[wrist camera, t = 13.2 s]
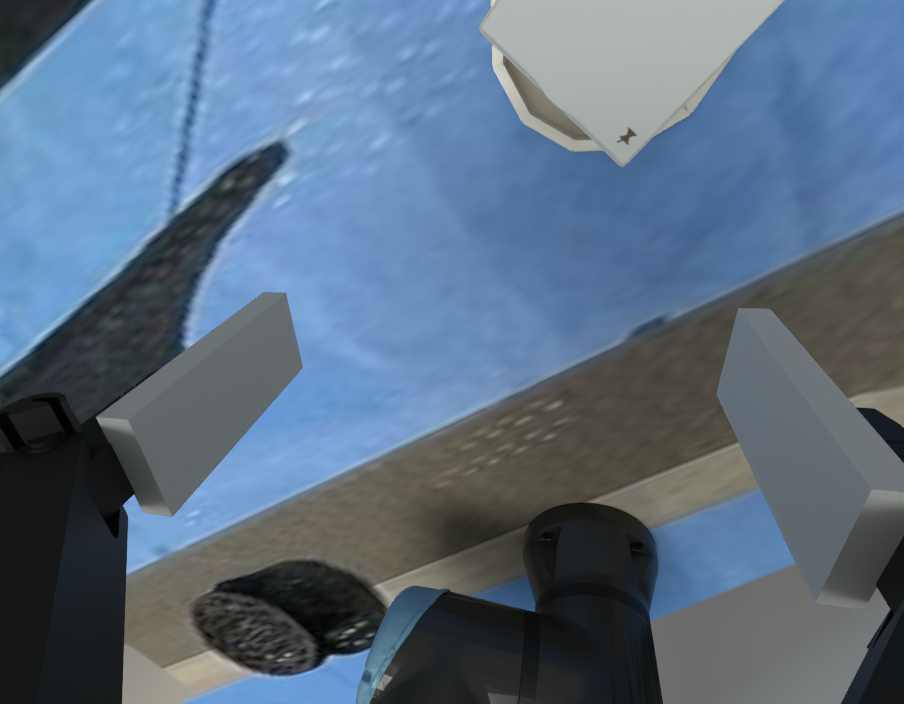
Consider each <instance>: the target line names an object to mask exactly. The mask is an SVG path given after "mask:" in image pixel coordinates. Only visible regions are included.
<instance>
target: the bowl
mask: <svg viewBox="0 0 904 704" xmlns="http://www.w3.org/2000/svg"><path fill="white" fill-rule="evenodd" d="M495 2H496V0H491V7H492V6H493V4H494V3H495ZM732 56H733V55H732ZM732 56H731V57H732ZM731 57H730V58H729V59H728V60H727V61H726V62H725V63H724V64H723V65H722V66H721V67H720V68H719V69H718V70H717V71H716V72H715V73H714V75H713V76H712V77H711V78H710V79H709V80H708V81H707V82H706V83H705V84H704V85H703V86H702V87H701V88H700V89H699V90H698V91H697V92H696V93H695V94H694V95H693V96H692V97H691V98H690V99H689V101H688V102H687V103H686V104H685V105H684V106H683V107H682V108H681V109H680V110H679V111H678V112H677V113H676V114H675V115H674V116H673V117H672V118H671V119H670V120H669V121H668V122H667V124H666V125H665V126H664V127H663V128H662V129H661V130H660V131H659V132H658V133H657V134H659V133H660V132H662V131H664V130H665V129H667V128H669V127H671V126H672V125H674V124H676V123H677V122H679V121H681V120H682V119H684V118H686V117H688V116H689V115H690V113H691V114H692V112H693V111H694V110H695V108H696V107H697V105H698V104H699V103H700V101H701V100H702V98H703V97H704V95H705V94H706V93H707V91H708V90H709V88H710V87H711V86H712V84H713V83H714V81H715V80H716V78H717V77H718V76H719V74H720V73H721V71H722V70H723V69H724V67H725V66H726V64H727V63H728V61H729V60H730V59H731ZM492 67H494V68H493V70H494V72H495V73H496V75H497V77H498V79H499V81H500V83H501V85H502V86H503V88H504V90H505V92H506V94H507V96H508V98H509V99H510V101H511V103H512V105H513V107H514V109H515V111H516V112H517V114H518V116H519V118H520V120H521V122H523V121H524V122H523V124H525V125H527V126H528V127H530V128H532V129H534V130H535V131H537V132H539V133H540V134H542V135H544V136H546V137H547V138H549V139H551V140H553V141H554V142H556V143H558V144H559V145H561V146H563V147H565V148H566V149H568V150H570V151H571V150H572V152H574V151H601V150H602V149H601V148H600V147H599V146H598V145H597V144H596V143H595V142H594V141H593V140H592V139H591V138H590V137H589V136H588V135H587V134H586V133H584V132H583V131H582V130H581V129H580V128H579V127H578V126H577V125H576V124H575V123H574V122H573V121H572V120H571V119H570V118H569V117H568V116H567V115H566V114H565V113H563V112H562V111H561V110H560V109H559V108H558V107H557V106H555V105H554V104H553V103H552V102H551V101H550V100H549V99H548V98H547V97H546V95H545V94H544V93H543V92H542V91H541V90H540V89H538V88H537V87H536V86H535V85H534V84H533V83H532V82H531V81H530V80H529V79H528V78H527V77H526V76H525V75H524V74H523V73H522V72H521V71H520V70H519V69H518V68H516V67H515V66H514V65H513V64H512V63H511V62H510V61H509V60H508V59H507V58H506V57H505V56H504V55H503V54H502V53H501V52H500V51H499V50H498V49H497V48H495V47H494V46H493V45H492ZM657 134H656V135H657Z"/></svg>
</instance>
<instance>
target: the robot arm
mask: <svg viewBox="0 0 904 704" xmlns="http://www.w3.org/2000/svg"><path fill="white" fill-rule="evenodd" d="M302 368H303V366H302V361H301V357H300V353H299V348H298V344H297V340H296V335H295V331H294V326H293V322H292V318H291V313H290V309H289V305H288V300H287V296H286V293H272V292H264V293H262V294H261V295H259V296H258V297H257V298H255V299H254V300H253V301H251V302H250V303H249V304H247V305H246V306H245V307H243V308H242V309H241V310H239V311H238V312H237V313H235V314H234V315H233V316H231V317H230V318H229V319H227V320H226V321H224V322H223V323H222V324H220V325H219V326H218V327H216V328H215V329H214V330H212V331H211V332H210V333H208V334H207V335H206V336H204V337H203V338H202V339H200V340H199V341H198V342H196V343H195V344H194V345H192V346H191V347H189V348H188V349H187V350H185V351H184V352H183V353H181V354H180V355H179V356H177V357H176V358H175V359H173V360H172V361H171V362H169V363H168V364H167V365H165V366H164V367H163V368H161V369H159V370H157V371H155V372H152V373H151V374H149V375H148V376H146V377H145V378H144V379H142V380H141V381H140V382H138V383H137V384H136V387H132V388H130V389H129V390H127V391H126V392H125V393H123V396H119V397H118V398H117V399H115V400H114V401H113V402H111V403H110V404H108V405H107V406H106V407H104V408H103V409H102V410H100V411H99V412H98V413H96V414H95V415H93V416H92V417H91V418H89V419H88V420H87V421H85V422H84V423H83V424H80V423H79V421H78V419H77V417H76V415H75V413H74V411H73V409H72V407H71V405H70V403H69V401H68V399H67V398H66V396H65V395H63V394H61V393H43V394H37V395H33V396H30V397H26V398H23V399H20V400H18V401H16V402H13V403H11V404H9V405H7V406H5V407H3V408H2V409H0V442H1V443H2V445H3V447H4V448H5V450H6V451H7V452H2V453H0V704H122V683H123V682H122V681H123V653H124V623H125V593H126V563H127V533H128V516H127V513H126V511H125V509H124V507H123V504H124V503H125V502H126V501H127V500H128V499H129V498H130V497H131V496H132V495H133V494H134V495H135V497H136V499H137V501H138V503H139V505H140V507H141V509H142V511H143V513H148V514H156V515H163V516H171V517H173V515H174V514H175V513H176V512H177V511H178V510H179V509H180V507H181V506H182V505H183V504H184V503H185V502H186V501H187V499H188V498H189V497H190V496H191V495H192V494H193V493H194V491H195V490H196V489H197V488H198V487H199V486H200V485H201V483H202V482H203V481H204V480H205V479H206V478H207V477H208V475H209V474H210V473H211V472H212V471H213V470H214V469H215V467H216V466H217V465H218V464H219V463H220V462H221V461H222V459H223V458H224V457H225V456H226V455H227V454H228V453H229V451H230V450H231V449H232V448H233V447H234V446H235V445H236V443H237V442H238V441H239V440H240V439H241V438H242V437H243V435H244V434H245V433H246V432H247V431H248V430H249V429H250V427H251V426H252V425H253V424H254V423H255V422H256V421H257V419H258V418H259V417H260V416H261V415H262V414H263V413H264V411H265V410H266V409H267V408H268V407H269V406H270V405H271V403H272V402H273V401H274V400H275V399H276V398H277V397H278V395H279V394H280V393H281V392H282V391H283V390H284V389H285V387H286V386H287V385H288V384H289V383H290V382H291V381H292V379H293V378H294V377H295V376H296V375H297V374H298V373H299V371H300V370H301V369H302ZM716 395H717V397H718V399H719V401H720V403H721V405H722V408H723V410H724V412H725V414H726V416H727V418H728V420H729V422H730V425H731V427H732V429H733V431H734V433H735V435H736V437H737V439H738V441H739V444H740V446H741V448H742V450H743V452H744V454H745V456H746V458H747V461H748V463H749V465H750V467H751V469H752V471H753V473H754V475H755V477H756V480H757V482H758V484H759V486H760V488H761V490H762V492H763V494H764V497H765V499H766V501H767V503H768V505H769V507H770V509H771V511H772V513H773V516H774V518H775V520H776V522H777V524H778V526H779V528H780V530H781V533H782V535H783V537H784V539H785V541H786V543H787V545H788V547H789V550H790V552H791V554H792V556H793V558H794V560H795V562H796V564H797V566H798V568H799V571H800V573H801V575H802V577H803V579H804V581H805V583H806V585H807V588H808V590H809V592H810V594H811V596H812V598H813V600H814V602H815V603H818V604H825V605H833V606H840V607H847V608H855V609H862V610H863V609H864V608H865V607H866V605H867V603H868V602H869V600H870V598H871V597H872V595H873V593H874V591H875V590H876V588H878V589H879V591H880V592H881V594H882V596H883V597H884V599H885V601H886V602H887V604H888V606H889V607H890V611H889V613H888V614H887V616H886V617H885V619H884V620H883V622H882V624H881V625H880V627H879V629H878V630H877V632H876V633H875V635H874V636H873V638H872V640H871V641H870V643H869V645H868V646H867V648H868V649H869V650H868V652H867V654H866V656H865V658H864V660H863V662H862V664H861V665H860V667H859V669H858V671H857V673H856V675H855V677H854V679H853V681H852V683H851V685H850V687H849V689H848V691H847V693H846V695H845V697H844V699H843V701H842V703H841V704H904V428H903V427H902V426H901V425H900V424H898V423H897V422H895V421H893V420H892V419H890V418H889V417H887V416H885V415H884V414H882V413H881V412H879V411H877V410H876V409H871V408H856V407H855V406H854V405H853V404H852V403H851V402H850V401H849V399H848V398H847V397H846V396H845V395H844V394H843V392H842V391H841V390H840V389H839V388H838V387H837V386H836V384H835V383H834V382H833V381H832V380H831V379H830V377H829V376H828V375H827V374H826V373H825V372H824V371H823V369H822V368H821V367H820V366H819V365H818V364H817V362H816V361H815V360H814V359H813V358H812V357H811V356H810V354H809V353H808V352H807V351H806V350H805V349H804V347H803V346H802V345H801V344H800V343H799V342H798V341H797V339H796V338H795V337H794V336H793V335H792V334H791V332H790V331H789V330H788V329H787V328H786V327H785V325H784V324H783V323H782V322H781V321H780V320H779V319H778V317H777V316H776V315H775V314H774V313H773V312H772V310H771V309H754V308H738V312H737V315H736V319H735V323H734V327H733V331H732V335H731V339H730V342H729V346H728V350H727V354H726V358H725V362H724V366H723V370H722V373H721V377H720V381H719V385H718V389H717V393H716ZM523 557H524V564H525V567H526V571H527V575H528V578H529V582H530V585H531V589H532V593H533V596H534V600H535V612H531V611H527V610H523V609H519V608H515V607H511V606H506V605H502V604H498V603H494V602H490V601H486V600H482V599H478V598H474V597H470V596H466V595H462V594H458V593H454V592H451V591H450V590H449V589H442V590H438V589H432V588H427V587H421V586H411V587H408V588H406V589H405V590H403V591H402V592H401V593H400V594H399V595H398V596H397V597H396V598H395V599H394V601H393V602H392V604H391V606H390V607H389V609H388V611H387V613H386V615H385V617H384V619H383V621H382V623H381V625H380V627H379V629H378V632H377V634H376V636H375V639H374V641H373V644H372V646H371V649H370V652H369V655H368V658H367V661H366V664H365V667H366V668H365V671H364V673H363V676H362V678H361V681H360V684H359V688H358V692H357V698H356V704H663V701H662V695H661V688H660V682H659V675H658V668H657V662H656V656H655V649H654V642H653V636H652V630H651V624H650V617H649V611H650V606H651V602H652V597H653V592H654V588H655V583H656V578H657V574H658V558H657V552H656V547H655V542H654V540H653V537H652V536H651V534H650V533H649V531H648V530H647V529H646V528H645V527H644V526H643V525H642V524H641V523H640V522H639V521H637V520H636V519H635V518H633V517H631V516H630V515H628V514H626V513H624V512H621V511H619V510H616V509H613V508H610V507H606V506H601V505H594V504H572V505H565V506H561V507H557V508H554V509H551V510H549V511H547V512H545V513H543V514H541V515H540V516H538V517H537V518H536V519H535V520H534V521H533V522H532V523H531V524H530V526H529V527H528V529H527V531H526V534H525V539H524V551H523Z"/></svg>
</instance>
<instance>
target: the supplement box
mask: <svg viewBox="0 0 904 704" xmlns="http://www.w3.org/2000/svg"><path fill="white" fill-rule="evenodd" d="M784 1H785V0H496V2H495V3H494V4H493V6H492V7H491V9H490V10H489V12H488V13H487V15H486V16H485V17H484V19H483V20H482V22H481V24H480V25H479V31H480V32H481V34H482V35H483V36H484V37H485V38H486V39H487V40H488V41H489V42H490V43H491V44H492V45H493V46H494V47H495V48H497V49H498V50H499V51H500V52H501V53H502V54H503V55H504V56H505V57H506V58H507V59H508V60H509V61H510V62H511V63H512V64H513V65H514V66H515V67H516V68H518V69H519V70H520V71H521V72H522V73H523V74H524V75H525V76H526V77H527V78H528V79H529V80H530V81H531V82H532V83H533V84H534V85H535V86H536V87H537V88H538V89H540V90H541V91H542V92H543V93H544V94H545V95H546V97H547V98H548V99H549V100H550V101H551V102H552V103H553V104H554V105H555V106H557V107H558V108H559V109H560V110H561V111H562V112H563V113H565V114H566V115H567V116H568V117H569V118H570V119H571V120H572V121H573V122H574V123H575V124H576V125H577V126H578V127H579V128H580V129H581V130H582V131H583V132H584V133H586V134H587V135H588V136H589V137H590V138H591V139H592V140H593V141H594V142H595V143H596V144H597V145H598V146H599V147H600V148H601V149H602V150H603V151H604V152H605V153H606V154H607V155H608V156H609V157H611V158H612V159H613V160H614V161H615V162H616V163H617V164H618V165H619V166H621V167H624V166H625V165H627V164H628V163H629V162H630V161H631V160H632V159H633V158H634V157H635V155H636V154H637V153H638V152H639V151H640V150H641V149H642V148H643V147H644V146H645V145H646V144H647V143H648V142H649V141H650V140H651V139H652V138H653V137H654V136H655V135H656V134H657V133H658V132H659V131H660V130H661V129H662V128H663V127H664V126H665V125H666V124H667V122H668V121H669V120H670V119H671V118H672V117H673V116H674V115H675V114H676V113H677V112H678V111H679V110H680V109H681V108H682V107H683V106H684V105H685V104H686V103H687V102H688V101H689V99H690V98H691V97H692V96H693V95H694V94H695V93H696V92H697V91H698V90H699V89H700V88H701V87H702V86H703V85H704V84H705V83H706V82H707V81H708V80H709V79H710V78H711V77H712V76H713V75H714V73H715V72H716V71H717V70H718V69H719V68H720V67H721V66H722V65H723V64H724V63H725V62H726V61H727V60H728V59H729V58H730V57H731V56H732V55H733V54H734V53H735V52H736V51H737V50H738V49H739V48H740V46H741V45H742V44H743V43H744V42H745V41H746V40H747V39H748V38H749V37H750V36H751V35H752V34H753V33H754V32H755V31H756V30H757V29H758V28H759V27H760V26H761V25H762V24H763V23H764V22H765V21H766V20H767V18H768V17H769V16H770V15H771V14H772V13H773V12H774V11H775V10H776V9H777V8H778V7H779V6H780V5H781V4H782V3H783V2H784Z"/></svg>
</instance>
